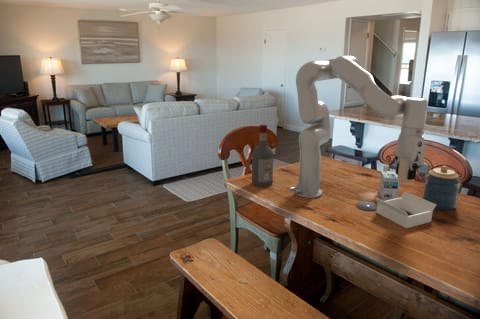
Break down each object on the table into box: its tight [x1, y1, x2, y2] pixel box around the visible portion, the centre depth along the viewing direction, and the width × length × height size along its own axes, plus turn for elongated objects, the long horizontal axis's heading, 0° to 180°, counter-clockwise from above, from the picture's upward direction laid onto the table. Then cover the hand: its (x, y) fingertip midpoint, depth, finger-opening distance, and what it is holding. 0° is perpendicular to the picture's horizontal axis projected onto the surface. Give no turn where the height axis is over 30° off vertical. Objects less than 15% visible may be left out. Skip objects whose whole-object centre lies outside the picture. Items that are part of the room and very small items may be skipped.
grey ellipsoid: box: [356, 200, 377, 212], centre depth 156 cm, size 8×8×1 cm
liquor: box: [251, 124, 275, 188], centre depth 178 cm, size 9×9×30 cm
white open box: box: [374, 190, 436, 229], centre depth 145 cm, size 16×15×7 cm
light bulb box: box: [378, 170, 401, 201], centre depth 165 cm, size 11×7×11 cm, turn 168°
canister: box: [421, 165, 461, 211], centre depth 155 cm, size 13×13×18 cm
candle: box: [397, 159, 414, 184], centre depth 141 cm, size 6×6×10 cm
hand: (405, 176), depth 142 cm, fingers closed on candle, 5 cm apart
